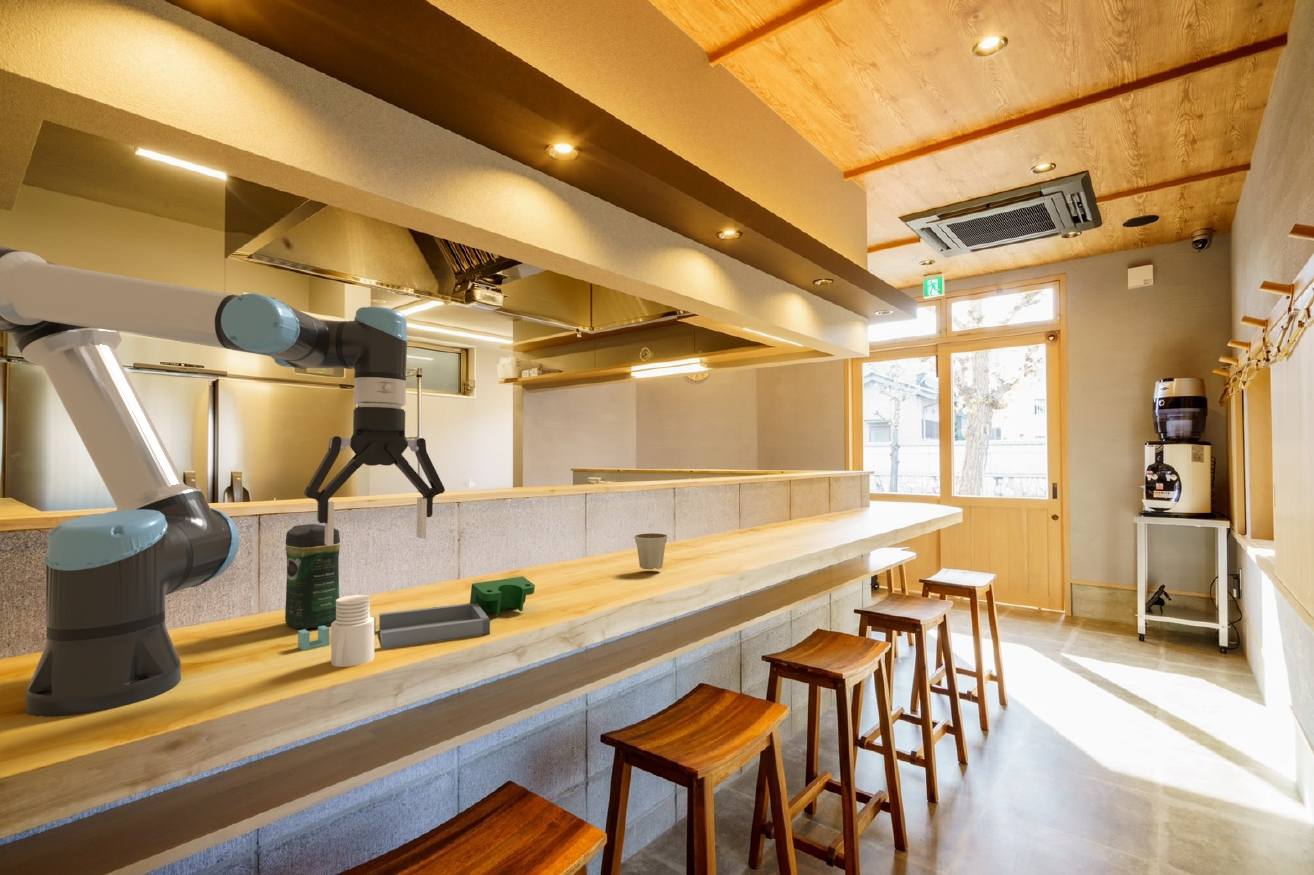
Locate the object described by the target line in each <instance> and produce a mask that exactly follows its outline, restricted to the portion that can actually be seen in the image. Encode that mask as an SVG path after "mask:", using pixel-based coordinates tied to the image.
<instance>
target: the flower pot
mask: <svg viewBox="0 0 1314 875" xmlns="http://www.w3.org/2000/svg"><path fill="white" fill-rule="evenodd" d="M633 538H634V540H635V543H636V549H637V556H638V563H639V567H640V568H641V569H644V570H654V569H657V570H659V569H662V568H663V565H664V558H665V551H666V550H665V549H666V544H667V542H668V541H667V540H668V538H669V535H668V534H666V533H658V532H657V533H656V532H655V533H654V532H647V533H646V532H645V533H637V534H634V535H633Z"/></svg>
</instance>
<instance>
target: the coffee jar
mask: <svg viewBox="0 0 1314 875" xmlns="http://www.w3.org/2000/svg"><path fill="white" fill-rule="evenodd" d="M285 534H286V535H285V553H286V554H285V555H286V583H285V584H286V586H285V587H286V591H285V608H284V610H285V612H284V617H285V618H284V621H285V624H287V625H288V626H290V627H292V628H296V629H299V630H304V629H305V630H307V629H313V628H316V629H318V627H319V626H326V627H328V626H331V623H332V622H334V621H336V604H337V603H336V600H337V599H339V598H340V579H339V578H340V575H339V574H340V571H339V570H340V566H339V562H340V560H339V559H340V558H339V556H340V548H341V543H340V542H341V538H340V530H338V528H335V527H334V538H333V546H327V545H326V544H325V524H324V525H323V524H317V523H316V524H315V523H308V524H307V523H306V524H298V525H293V527H292V528H290V529H289V530H288V531H287V532H286V533H285Z"/></svg>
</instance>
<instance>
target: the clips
mask: <svg viewBox="0 0 1314 875" xmlns="http://www.w3.org/2000/svg"><path fill="white" fill-rule="evenodd" d="M370 617H373V618H374V635H376V633H377V631H376V630H377V629H376V617H375V616H371V615H370ZM310 639H311V638H310V631H308V630H307V629H299V630H297V649H299V650H301V651H307V650H312V649H317V647H318V648H321V647H326V646H330V627H328V626H319V627H318V628H317V639H316V640H312V641H310Z"/></svg>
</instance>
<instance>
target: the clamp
mask: <svg viewBox="0 0 1314 875" xmlns="http://www.w3.org/2000/svg"><path fill="white" fill-rule="evenodd" d="M535 587H536V585H535V583H533V582H532V581H531V580H529V579H527V578H526V577H524V576H516V577H509V578H503V579H502V578H501V579H496V580H489V581H487V580H486V581H482V582H481V581H480V582H474V583H473V582H472V583H471V588H470V598H469V599H470V600H469V603H476V602H477V604H478V605H479V606H480V607H481V609H482V610H483V611H484V612H485V614H487V613H493V614H494V615H495V616H500V611H502V610H510V609H517V610H518V611H519V612H523V610H524V609H523V608H524V604H525V602H526V598H527V596H529V595H533V594H535Z"/></svg>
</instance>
